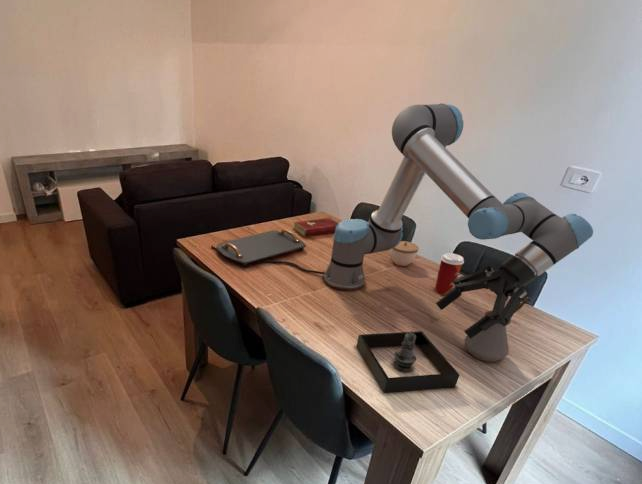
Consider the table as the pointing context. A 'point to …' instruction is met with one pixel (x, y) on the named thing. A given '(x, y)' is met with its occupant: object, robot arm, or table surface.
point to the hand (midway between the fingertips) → (452, 320)
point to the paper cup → (448, 272)
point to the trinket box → (404, 253)
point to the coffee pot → (491, 341)
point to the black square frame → (409, 383)
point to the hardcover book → (315, 227)
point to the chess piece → (405, 354)
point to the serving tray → (260, 246)
